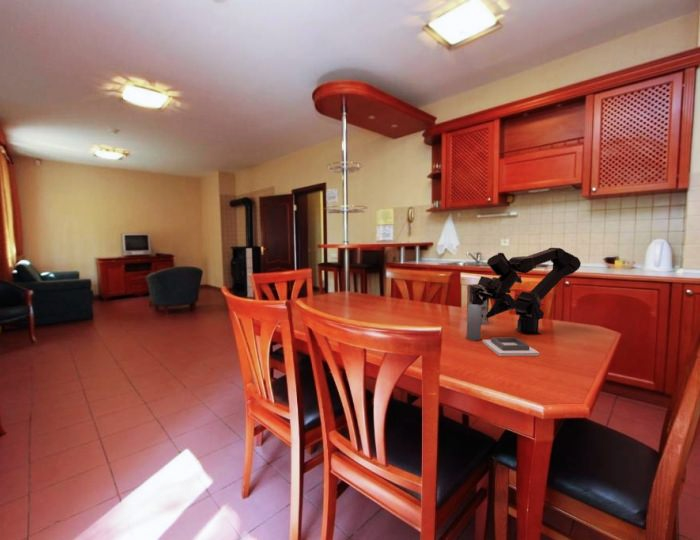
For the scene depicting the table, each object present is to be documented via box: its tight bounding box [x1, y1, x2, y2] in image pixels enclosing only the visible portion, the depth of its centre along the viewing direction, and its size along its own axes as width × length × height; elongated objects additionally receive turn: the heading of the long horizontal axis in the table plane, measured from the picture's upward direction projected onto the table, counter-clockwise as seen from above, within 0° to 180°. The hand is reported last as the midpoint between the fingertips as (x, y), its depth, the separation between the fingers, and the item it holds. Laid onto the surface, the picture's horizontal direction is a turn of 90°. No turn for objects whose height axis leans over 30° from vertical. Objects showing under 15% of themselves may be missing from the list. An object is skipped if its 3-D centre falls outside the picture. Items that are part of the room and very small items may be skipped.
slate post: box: [466, 304, 482, 342], centre depth 122 cm, size 5×5×12 cm
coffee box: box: [466, 283, 490, 325], centre depth 146 cm, size 9×6×16 cm
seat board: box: [481, 336, 540, 357], centre depth 112 cm, size 13×13×2 cm
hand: (478, 314), depth 123 cm, fingers open, 9 cm apart
